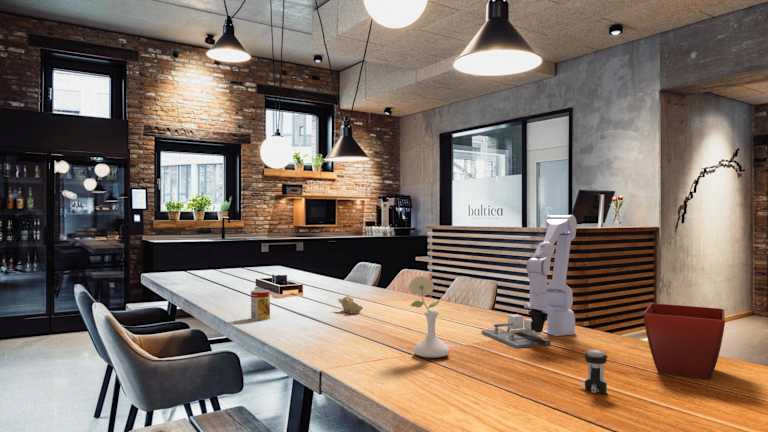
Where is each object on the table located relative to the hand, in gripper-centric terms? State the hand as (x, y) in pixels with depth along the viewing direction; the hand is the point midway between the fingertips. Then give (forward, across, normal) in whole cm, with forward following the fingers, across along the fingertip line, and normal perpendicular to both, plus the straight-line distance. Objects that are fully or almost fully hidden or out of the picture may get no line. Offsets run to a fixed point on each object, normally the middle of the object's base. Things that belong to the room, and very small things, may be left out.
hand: (538, 331), depth 186 cm
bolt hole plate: (+3, -7, -8) cm, 11 cm away
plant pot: (+4, +44, +18) cm, 47 cm away
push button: (+4, +49, -18) cm, 53 cm away
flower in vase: (+4, +4, -43) cm, 43 cm away
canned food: (+4, -77, -87) cm, 116 cm away
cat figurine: (+4, -78, -47) cm, 91 cm away
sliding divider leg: (+2, -4, -3) cm, 5 cm away
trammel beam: (+3, -7, 0) cm, 7 cm away
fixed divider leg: (+2, -15, -3) cm, 15 cm away
